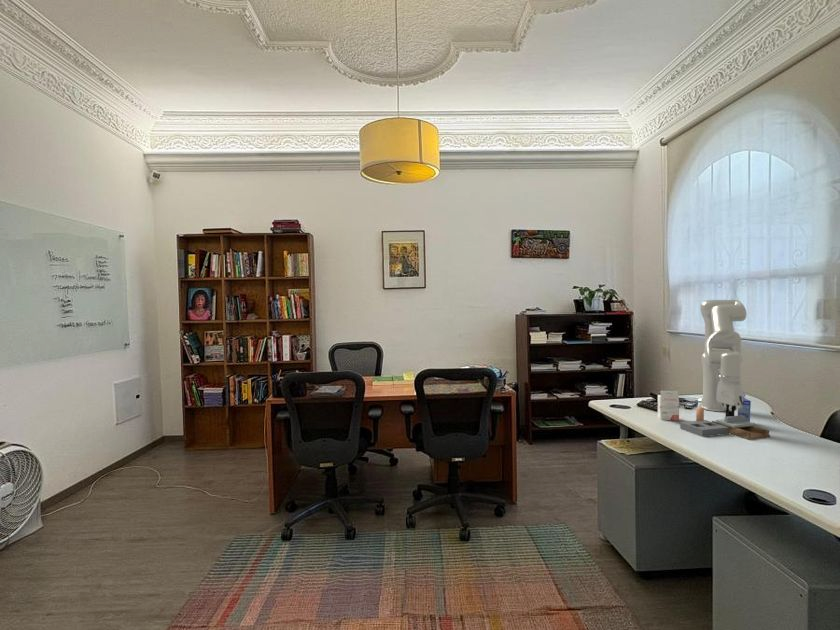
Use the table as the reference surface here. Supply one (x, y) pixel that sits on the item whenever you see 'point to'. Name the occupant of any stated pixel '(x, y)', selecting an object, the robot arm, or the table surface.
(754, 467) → the table surface
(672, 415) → the ink cartridge box
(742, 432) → the box
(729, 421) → the lid
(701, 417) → the peg
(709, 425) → the socket board
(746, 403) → the ink cartridge box
